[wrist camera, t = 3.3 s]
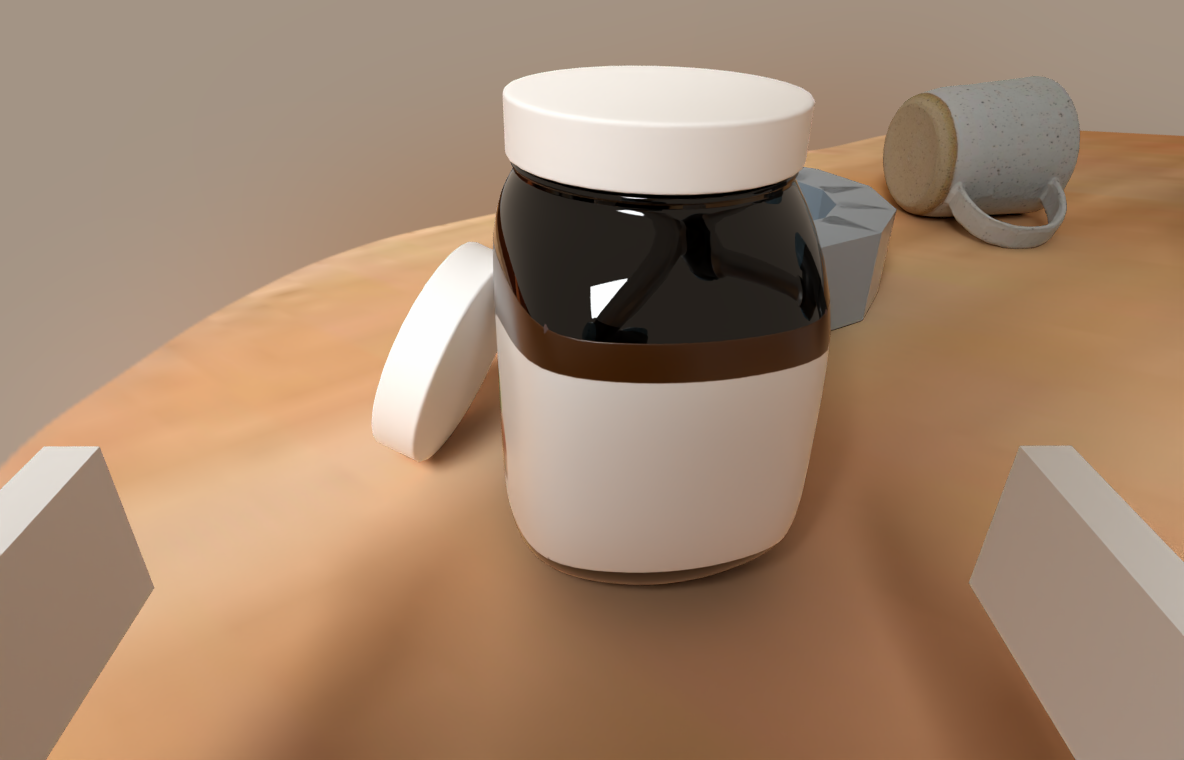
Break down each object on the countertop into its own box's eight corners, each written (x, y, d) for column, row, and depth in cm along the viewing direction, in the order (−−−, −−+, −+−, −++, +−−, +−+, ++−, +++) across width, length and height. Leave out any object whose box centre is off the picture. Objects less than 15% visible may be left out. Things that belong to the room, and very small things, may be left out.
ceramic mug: (864, 195, 49) (890, 68, 45) (977, 189, 51) (1012, 66, 46) (963, 259, 40) (1007, 109, 36) (1096, 250, 42) (1153, 104, 38)
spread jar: (825, 614, 19) (941, 140, 13) (359, 669, 17) (251, 156, 11) (695, 374, 29) (728, 45, 23) (394, 394, 28) (345, 47, 22)
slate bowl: (827, 231, 43) (840, 160, 41) (917, 339, 32) (941, 248, 30) (597, 230, 43) (599, 158, 41) (606, 338, 31) (609, 246, 29)
